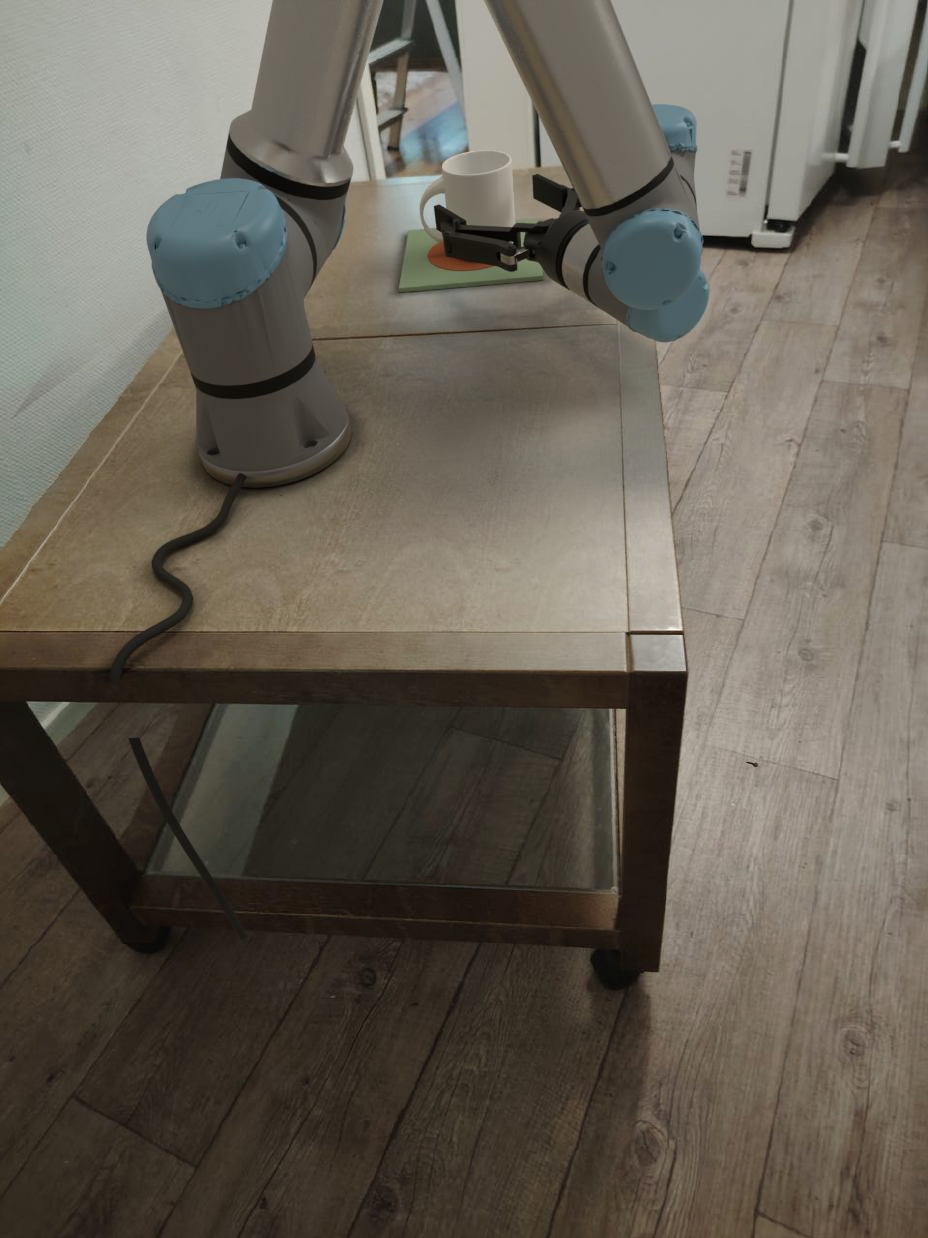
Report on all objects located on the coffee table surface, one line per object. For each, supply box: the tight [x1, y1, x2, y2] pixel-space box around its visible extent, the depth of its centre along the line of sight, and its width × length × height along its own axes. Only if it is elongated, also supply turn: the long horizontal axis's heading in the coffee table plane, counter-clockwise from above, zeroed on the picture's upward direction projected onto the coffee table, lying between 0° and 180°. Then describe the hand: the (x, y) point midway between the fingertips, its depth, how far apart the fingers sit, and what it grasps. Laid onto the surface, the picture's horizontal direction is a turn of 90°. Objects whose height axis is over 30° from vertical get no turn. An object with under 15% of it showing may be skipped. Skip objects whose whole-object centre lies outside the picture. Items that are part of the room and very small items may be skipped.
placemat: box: [398, 218, 544, 293], centre depth 117 cm, size 18×18×1 cm
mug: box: [419, 149, 516, 243], centre depth 113 cm, size 9×12×11 cm
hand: (487, 200), depth 107 cm, fingers open, 13 cm apart
